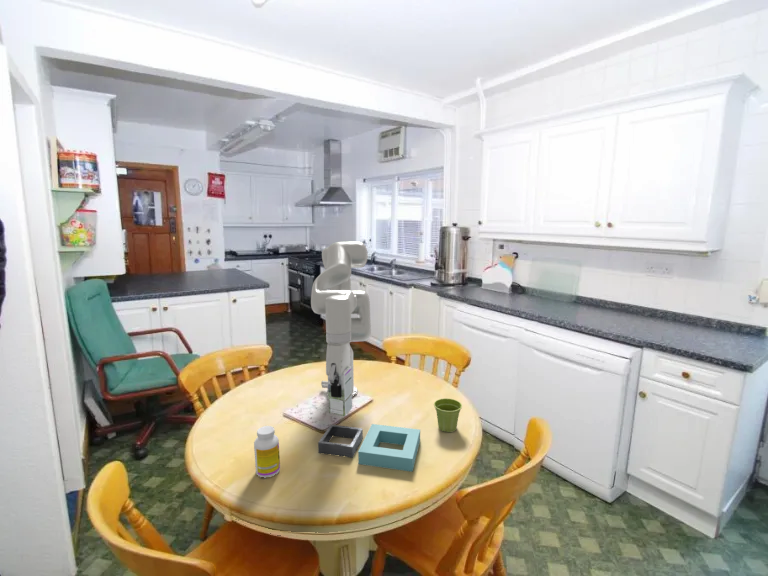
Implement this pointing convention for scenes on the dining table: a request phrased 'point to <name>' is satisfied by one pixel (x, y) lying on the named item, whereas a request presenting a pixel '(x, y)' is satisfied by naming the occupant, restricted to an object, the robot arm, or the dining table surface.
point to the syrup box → (345, 402)
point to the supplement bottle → (266, 452)
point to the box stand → (337, 448)
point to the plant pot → (447, 413)
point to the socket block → (386, 456)
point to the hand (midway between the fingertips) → (340, 391)
